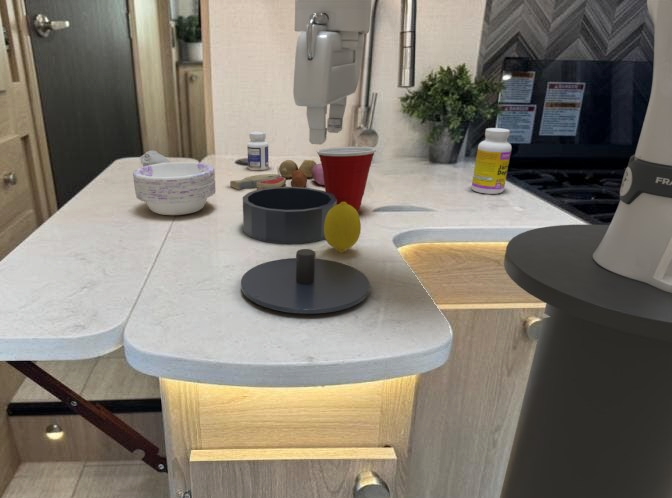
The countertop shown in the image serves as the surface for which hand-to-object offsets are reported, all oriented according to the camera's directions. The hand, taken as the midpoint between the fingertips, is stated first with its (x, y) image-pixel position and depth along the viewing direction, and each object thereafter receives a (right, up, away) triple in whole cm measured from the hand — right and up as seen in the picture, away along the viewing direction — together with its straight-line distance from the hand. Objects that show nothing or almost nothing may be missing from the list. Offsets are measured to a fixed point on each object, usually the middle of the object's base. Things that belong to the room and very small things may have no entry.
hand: (326, 137), depth 70 cm
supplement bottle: (+40, +3, +49) cm, 63 cm away
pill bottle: (-10, +13, +70) cm, 72 cm away
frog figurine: (-34, +7, +57) cm, 67 cm away
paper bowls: (-25, -3, +36) cm, 44 cm away
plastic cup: (+7, -4, +35) cm, 35 cm away
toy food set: (-2, +6, +55) cm, 55 cm away
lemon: (+4, -14, +15) cm, 20 cm away
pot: (-4, -8, +25) cm, 27 cm away
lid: (-3, -19, +2) cm, 19 cm away
